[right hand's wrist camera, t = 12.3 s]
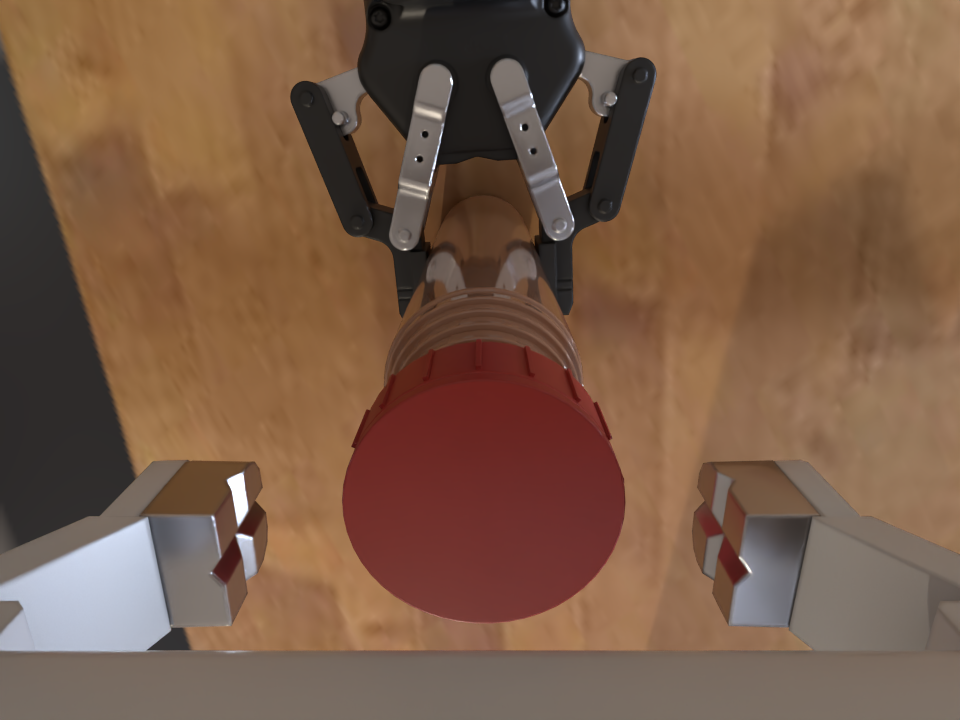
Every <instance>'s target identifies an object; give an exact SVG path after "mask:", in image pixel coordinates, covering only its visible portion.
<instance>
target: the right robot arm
mask: <svg viewBox="0 0 960 720" xmlns="http://www.w3.org/2000/svg"><path fill="white" fill-rule="evenodd" d="M262 488H263V487H262V481H261V475H260V469H259V467H258V466H257V464H256V463H255V462H240V461H189V460H166V461H153V462H152V463H151V464H150V465H149V466H148V467H147V468H146V469H145V470H144V471H143V472H142V473H141V474H140V475H139V476H138V477H137V478H136V479H135V480H134V482H133V483H132V484H131V485H130V486H129V487H128V488H127V489H126V490H125V491H124V492H123V493H122V494H121V495H120V496H119V497H118V498H117V499H116V500H115V501H114V502H113V503H112V504H111V505H110V506H109V507H108V508H107V509H106V510H105V511H104V512H103V513H102V514H101V515H100V516H92V517H90V516H89V517H86V518H84V519H82V520H79V521H77V522H75V523H72V524H70V525H68V526H66V527H63V528H61V529H58V530H56V531H54V532H51V533H49V534H47V535H45V536H42V537H40V538H37V539H35V540H33V541H30V542H28V543H26V544H24V545H21V546H19V547H17V548H14V549H12V550H10V551H7V552H5V553H3V554H0V720H960V554H957V553H955V552H953V551H950V550H948V549H946V548H943V547H941V546H939V545H936V544H934V543H932V542H929V541H927V540H925V539H922V538H920V537H918V536H915V535H913V534H911V533H908V532H906V531H904V530H902V529H899V528H897V527H895V526H892V525H890V524H888V523H885V522H883V521H881V520H878V519H876V518H874V517H871V516H860V515H859V514H858V513H857V512H856V511H855V510H854V509H853V508H852V507H851V506H850V505H849V504H848V503H847V502H846V501H845V500H844V499H843V498H842V497H841V496H840V495H839V494H838V493H837V492H836V491H835V490H834V489H833V488H832V487H831V486H830V484H829V483H828V482H827V481H826V480H825V479H824V478H823V477H822V476H821V475H820V474H819V473H818V472H817V471H816V470H815V469H814V468H813V467H812V466H811V465H810V464H809V463H808V462H806V461H803V460H783V461H773V460H772V461H730V462H707V463H703V465H702V468H701V470H700V473H699V480H698V486H697V488H698V489H699V491H700V493H701V495H702V496H703V498H704V500H705V501H704V502H703V503H702V504H701V505H700V507H699V508H698V509H697V510H696V511H695V512H694V518H693V528H692V535H693V548H694V552H695V556H696V560H697V563H698V565H699V567H700V569H701V571H702V573H703V574H705V575H706V576H708V577H709V578H711V579H712V580H714V585H713V592H712V594H713V596H714V598H715V600H716V602H717V604H718V606H719V608H720V610H721V612H722V614H723V616H724V618H725V620H726V622H727V624H728V626H754V627H789V631H791V632H792V633H793V634H794V635H796V636H797V637H798V638H799V639H801V640H802V641H803V642H804V643H806V644H807V645H808V646H810V647H811V648H812V649H813V650H815V651H146V650H147V649H148V648H149V647H151V646H152V645H153V644H155V643H156V642H157V641H158V640H160V639H161V638H162V637H163V636H165V635H166V634H167V633H168V632H170V631H171V627H205V626H232V624H233V622H234V620H235V618H236V616H237V614H238V612H239V610H240V608H241V606H242V604H243V602H244V600H245V598H246V596H247V594H248V592H247V585H246V580H248V579H249V578H251V577H252V576H254V575H255V574H257V573H258V571H259V569H260V567H261V565H262V562H263V560H264V556H265V551H266V546H267V535H268V525H267V517H266V512H265V511H264V510H263V509H262V508H261V507H260V505H259V504H258V503H257V502H256V501H255V500H256V498H257V496H258V495H259V493H260V491H261V489H262Z"/></svg>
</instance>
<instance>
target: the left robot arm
mask: <svg viewBox="0 0 960 720" xmlns="http://www.w3.org/2000/svg"><path fill="white" fill-rule="evenodd" d="M364 6H365V15H366V35H365V40H364V44H363V47H362V50H361V52H360V55H359V58H358V64H357V68H355V69H352V70H349V71H347V72H344V73H342V74H339V75H337V76H334V77H332V78H329V79H327V80H324V81H322V82H319V83H313V82H309V81H302V82H299V83H297V84H296V85H295V86H294V87H293V89H292V91H291V96H290V98H291V103H292V106H293V108H294V111H295V113H296V115H297V118H298V120H299V122H300V125H301V127H302V130H303V132H304V134H305V137H306V139H307V142H308V144H309V146H310V149H311V151H312V154H313V156H314V158H315V161H316V163H317V165H318V168H319V170H320V173H321V175H322V177H323V180H324V182H325V185H326V187H327V189H328V192H329V194H330V197H331V199H332V201H333V204H334V206H335V208H336V211H337V213H338V216H339V218H340V220H341V223H342V225H343V227H344V229H345V231H346V232H347V233H348V234H350V235H351V236H354V237H367V238H370V239H374V240H377V241H380V242H382V243H384V244H385V245H387V246H388V247H389V249H390V250H391V252H392V254H393V258H394V267H395V276H396V285H397V294H398V303H399V312H400V315H401V317H402V318H403V316H404V314H405V311H406V309H407V306H408V304H409V302H410V299H411V297H412V294H413V292H414V290H415V287H416V285H417V282H418V280H419V278H420V275H421V273H422V270H423V268H424V266H425V263H426V261H427V258H428V256H429V254H430V251H431V246H430V242H425V237H424V229H425V225H426V220H427V216H428V212H429V207H430V203H431V198H432V194H433V190H434V187H435V183H436V179H437V174H438V170H439V166H440V165H441V164H456V163H459V162H462V161H465V160H468V159H471V158H473V157H483V158H488V159H492V160H497V161H499V160H514V159H517V162H518V165H519V168H520V170H521V173H522V176H523V178H524V181H525V183H526V186H527V188H528V191H529V194H530V196H531V199H532V202H533V205H534V207H535V210H536V213H537V215H538V218H539V235H535V236H534V237H535V248H536V251H537V253H538V255H539V258H540V260H541V263H542V265H543V267H544V270H545V272H546V275H547V277H548V279H549V282H550V284H551V287H552V289H553V291H554V294H555V296H556V298H557V301H558V303H559V306H560V308H561V310H562V313H563V315H569V312H570V310H571V307H572V305H573V268H572V243H573V240H574V238H575V236H576V234H577V233H578V232H579V231H580V230H582V229H584V228H586V227H588V226H590V225H592V224H595V223H597V222H599V221H601V222H606V221H610V220H612V219H613V218H615V217H616V215H617V214H618V212H619V210H620V207H621V203H622V199H623V196H624V192H625V188H626V185H627V181H628V178H629V174H630V170H631V167H632V163H633V160H634V156H635V152H636V149H637V145H638V141H639V138H640V134H641V131H642V127H643V123H644V120H645V116H646V113H647V109H648V105H649V102H650V98H651V94H652V91H653V87H654V84H655V80H656V68H655V66H654V64H653V63H652V62H651V61H650V60H649V59H647V58H641V57H640V58H636V59H631V60H623V59H619V58H615V57H610V56H606V55H602V54H597V53H593V52H589V51H585V47H584V44H583V41H582V39H581V37H580V35H579V33H578V32H577V30H576V28H575V25H574V22H573V19H572V15H571V8H570V0H364ZM577 79H580V80H582V81H583V82H584V83H585V84H586V86H587V88H588V91H589V99H588V104H589V108H590V110H591V111H592V112H593V113H594V114H595V115H597V116H600V117H601V120H600V124H599V128H598V132H597V136H596V140H595V144H594V148H593V152H592V156H591V160H590V163H589V167H588V171H587V175H586V179H585V183H584V187H583V190H582V191H580V192H578V193H575V194H573V195H571V196H569V197H566V196H565V193H564V190H563V187H562V184H561V181H560V178H559V173H558V170H557V167H556V164H555V161H554V158H553V155H552V152H551V150H550V147H549V144H548V141H547V138H546V135H545V131H546V129H547V127H548V126H549V124H550V123H551V121H552V119H553V118H554V116H555V115H556V113H557V111H558V110H559V108H560V107H561V105H562V103H563V102H564V100H565V99H566V97H567V95H568V94H569V92H570V91H571V89H572V87H573V86H574V84H575V83H576V81H577ZM367 94H368V95H369V96H370V97H371V98H372V99H373V101H374V102H375V103H376V104H377V105H378V107H379V108H380V109H381V110H382V112H383V113H384V114H385V115H386V116H387V118H388V119H389V120H390V121H391V122H392V124H393V125H394V126H395V127H396V129H397V130H398V131H399V132H400V133H401V135H402V136H403V137H404V138H405V139H406V141H407V143H406V148H405V153H404V157H403V162H402V167H401V172H400V177H399V182H398V193H397V198H396V202H395V207H394V209H393V208H390V207H386V206H383V205H380V204H378V201H377V199H376V196H375V194H374V191H373V189H372V186H371V184H370V181H369V179H368V176H367V174H366V171H365V169H364V166H363V164H362V161H361V158H360V156H359V153H358V151H357V148H356V146H355V143H354V141H353V138H352V136H351V134H353V133H355V132H356V131H357V130H358V129H359V127H360V125H361V114H360V104H361V101H362V99H363V98H364V97H365V96H366V95H367Z"/></svg>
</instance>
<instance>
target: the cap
mask: <svg viewBox="0 0 960 720" xmlns="http://www.w3.org/2000/svg"><path fill="white" fill-rule="evenodd" d="M610 439H612V436H611V434H610V431H609V429H608V426H607V424H606V422H605V419H604V417H603V414H602V412H601V409H600V407H599V405H598V403H597V402H595V403H593V401H592V399H591V398H590V396H589V394H588V393H587V392H586V390H585V389H584V388H583V387H582V385H581V384H580V383H579V382H578V381H577V380H576V379H575V378H574V377H573V375H572V372H571V370H570V369H569V368H567V369H566V370H565V369H564V368H563V367H561V366H560V365H559V364H557V363H556V362H554V361H552V360H551V359H549V358H547V357H545V356H543V355H542V354H539V353H537V352H534V351H532V350H530V347H529V346H526V345H525V347H524V348H523V347H519V346H516V345H512V344H506V343H498V342H481V339H476V342H469V343H461V344H456V345H452V346H448V347H444V348H441V349H438V350H436V351H434V349H431V350H429V351H428V354H426V355H424V356H422V357H420V358H419V359H417V360H415V361H413V362H412V363H410V364H409V365H408V366H406V367H405V368H403V369H402V370H401V371H399V372H398V373H397V374H396V375H394V374H392V375H391V376H390V377H389V380H388V383H387V385H386V386H385V387H384V388H383V390H382V391H381V392H380V394H379V395H378V397H377V398H376V400H375V402H374V404H373V405H372V407H371V410H368V409H367V410H366V412H365V415H364V417H363V419H362V422H361V424H360V427H359V429H358V432H357V434H356V437H355V439H354V441H353V444H352V447H353V448H355V450H354V453H353V455H352V458H351V460H350V463H349V465H348V468H347V471H346V476H345V480H344V484H343V497H342V504H343V517H344V521H345V525H346V530H347V533H348V536H349V538H350V541H351V543H352V546H353V548H354V550H355V552H356V554H357V555H358V557H359V559H360V561H361V562H362V564H363V565H364V566H365V568H366V569H367V570H368V572H369V573H370V574H371V575H372V576H373V577H374V578H375V579H376V580H377V581H378V582H379V583H380V584H381V585H382V586H383V587H384V588H385V589H386V590H388V591H389V592H390V593H391V594H393V595H394V596H395V597H397V598H399V599H400V600H402V601H403V602H405V603H407V604H408V605H410V606H412V607H414V608H417V609H419V610H421V611H423V612H425V613H428V614H431V615H434V616H437V617H440V618H444V619H449V620H453V621H459V622H467V623H501V622H510V621H514V620H519V619H524V618H528V617H531V616H534V615H537V614H540V613H543V612H545V611H547V610H549V609H551V608H554V607H556V606H558V605H559V604H561V603H563V602H565V601H566V600H568V599H570V598H571V597H573V596H574V595H575V594H576V593H578V592H579V591H580V590H582V589H583V588H584V587H585V586H586V585H587V584H588V583H589V582H590V581H591V580H592V579H593V578H594V577H595V576H596V575H597V574H598V573H599V571H600V570H601V569H602V567H603V566H604V565H605V564H606V562H607V560H608V559H609V557H610V555H611V553H612V552H613V550H614V548H615V545H616V543H617V540H618V538H619V536H620V532H621V528H622V524H623V520H624V512H625V487H624V478H623V475H622V473H621V469H620V467H619V464H618V461H617V459H616V456H615V453H614V451H613V448H612V446H611V443H610V441H609V440H610Z"/></svg>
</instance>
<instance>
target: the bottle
mask: <svg viewBox="0 0 960 720" xmlns="http://www.w3.org/2000/svg"><path fill="white" fill-rule="evenodd" d="M476 339H481V342H498V343H506V344H512V345H516V346H519V347H523V348H524V347H525V345H526V346H529V347H530V350H532V351H534V352H537V353H539V354H542V355H543V356H545V357H547V358H549V359H551V360H552V361H554V362H556V363H557V364H559V365H560V366H561V367H563V368H564V369H565V370H566V369H567V368H569V369H570V370H571V372H572V375H573V377H574V378H575V379H576V380H577V381H578V382H579V383H580V384H581V385H582V387H583V371H582V364H581V359H580V355H579V352H578V349H577V347H576V344H575V342H574V339H573V337H572V334H571V332H570V330H569V327H568V325H567V322H566V320H565V318H564V315H563V313H562V310H561V308H560V306H559V303H558V301H557V298H556V296H555V294H554V291H553V289H552V287H551V284H550V282H549V279H548V277H547V275H546V272H545V270H544V267H543V265H542V263H541V260H540V258H539V255H538V253H537V251H536V248H535V246H534V244H533V241H532V239H531V236H530V234H529V232H528V229H527V227H526V224H525V222H524V220H523V218H522V216H521V215H520V213H519V212H518V211H517V210H516V209H515V208H514V207H513V206H512V205H511V204H510V203H508V202H506V201H505V200H503V199H500V198H498V197H494V196H489V195H478V196H473V197H469V198H467V199H464V200H462V201H461V202H459V203H458V204H456V205H455V206H454V207H453V208H452V209H451V210H450V211H449V212H448V214H447V215H446V217H445V218H444V220H443V222H442V225H441V227H440V229H439V232H438V234H437V237H436V239H435V242H434V244H433V246H432V249H431V251H430V254H429V256H428V258H427V261H426V263H425V266H424V268H423V270H422V273H421V275H420V278H419V280H418V282H417V285H416V287H415V290H414V292H413V294H412V297H411V299H410V302H409V304H408V306H407V309H406V311H405V314H404V316H403V318H402V321H401V323H400V326H399V328H398V330H397V333H396V335H395V338H394V340H393V343H392V345H391V348H390V350H389V353H388V356H387V361H386V365H385V375H384V387H385V386H386V385H387V383H388V380H389V377H390V376H391V375H392V374H394V375H396V374H397V373H398V372H399V371H401V370H402V369H403V368H405V367H406V366H408V365H409V364H410V363H412V362H413V361H415V360H417V359H419V358H420V357H422V356H424V355H426V354H428V351H429V350H431V349H434V351H436V350H438V349H441V348H444V347H448V346H452V345H456V344H461V343H469V342H476ZM583 388H584V387H583Z"/></svg>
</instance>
